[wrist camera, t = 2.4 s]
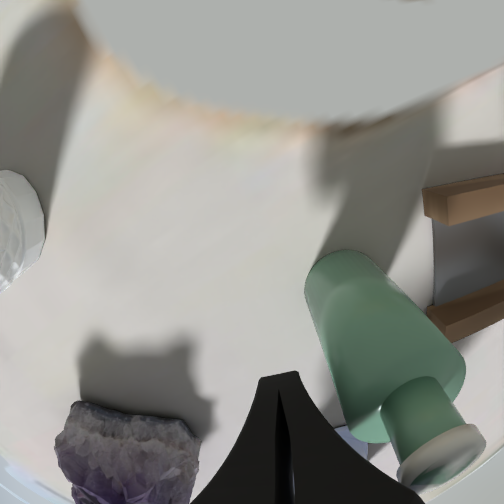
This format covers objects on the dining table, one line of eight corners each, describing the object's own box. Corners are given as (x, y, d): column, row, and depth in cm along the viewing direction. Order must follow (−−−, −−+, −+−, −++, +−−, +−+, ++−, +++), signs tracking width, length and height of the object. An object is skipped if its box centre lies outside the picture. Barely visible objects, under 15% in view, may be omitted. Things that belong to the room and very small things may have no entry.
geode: (177, 507, 26) (154, 570, 17) (90, 467, 26) (56, 523, 17) (229, 429, 19) (196, 548, 10) (87, 363, 20) (11, 451, 10)
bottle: (381, 310, 17) (485, 470, 6) (310, 329, 17) (365, 522, 6) (375, 241, 16) (531, 385, 4) (297, 260, 16) (374, 463, 5)
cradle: (521, 284, 17) (540, 297, 14) (426, 325, 18) (443, 346, 15) (525, 169, 14) (549, 174, 12) (421, 189, 15) (446, 196, 12)
